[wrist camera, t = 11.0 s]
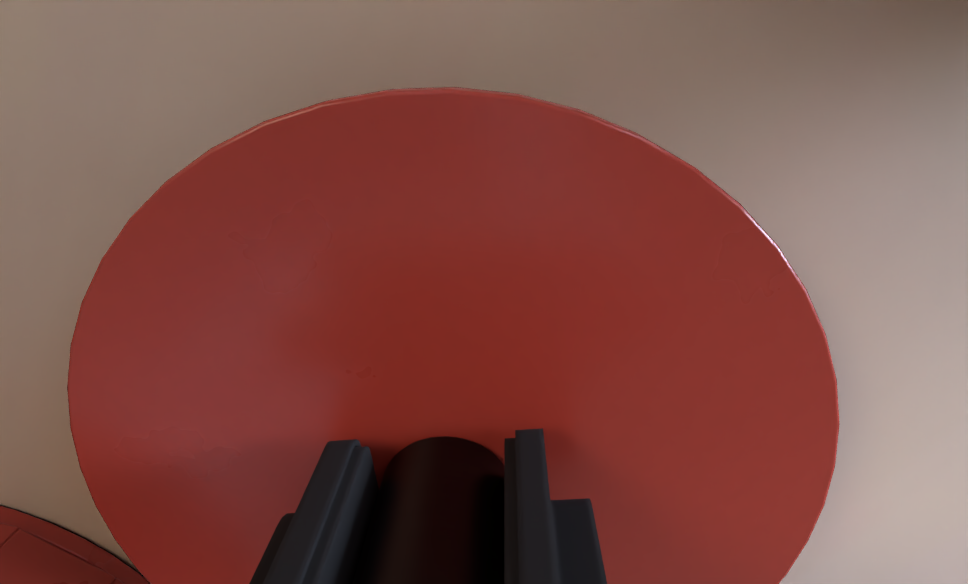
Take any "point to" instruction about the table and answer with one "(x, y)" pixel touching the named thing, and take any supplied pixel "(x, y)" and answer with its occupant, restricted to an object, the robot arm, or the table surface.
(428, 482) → the lid
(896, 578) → the table surface
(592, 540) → the robot arm
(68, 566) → the pot
